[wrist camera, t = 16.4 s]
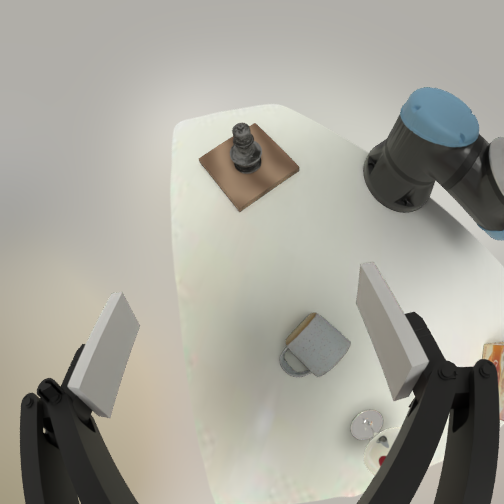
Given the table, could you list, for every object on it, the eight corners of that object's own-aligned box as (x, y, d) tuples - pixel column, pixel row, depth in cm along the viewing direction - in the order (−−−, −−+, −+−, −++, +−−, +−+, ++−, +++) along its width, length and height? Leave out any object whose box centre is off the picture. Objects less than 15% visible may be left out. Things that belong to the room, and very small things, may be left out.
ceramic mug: (311, 309, 46) (317, 308, 38) (345, 339, 44) (357, 344, 36) (268, 354, 45) (265, 362, 37) (303, 385, 43) (306, 398, 35)
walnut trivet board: (255, 127, 55) (255, 122, 53) (298, 170, 52) (299, 167, 50) (200, 162, 54) (198, 159, 52) (239, 212, 51) (238, 209, 49)
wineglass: (366, 397, 41) (407, 433, 23) (395, 416, 39) (441, 452, 22) (336, 431, 40) (362, 481, 22) (367, 449, 38) (400, 497, 21)
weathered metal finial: (230, 152, 52) (219, 114, 40) (260, 147, 52) (255, 106, 40) (234, 177, 51) (223, 141, 39) (265, 171, 50) (262, 133, 39)
